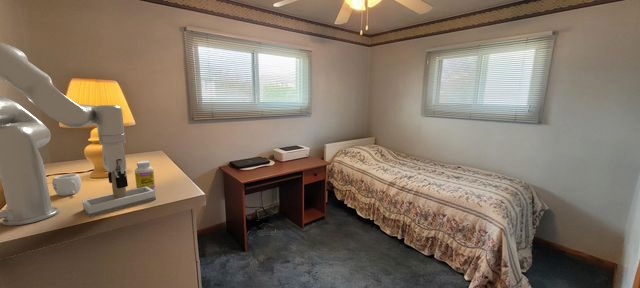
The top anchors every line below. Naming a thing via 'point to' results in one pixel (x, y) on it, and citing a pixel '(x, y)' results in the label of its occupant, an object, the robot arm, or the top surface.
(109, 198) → the track
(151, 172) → the supplement bottle
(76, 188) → the mug
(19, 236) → the top surface
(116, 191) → the handle
